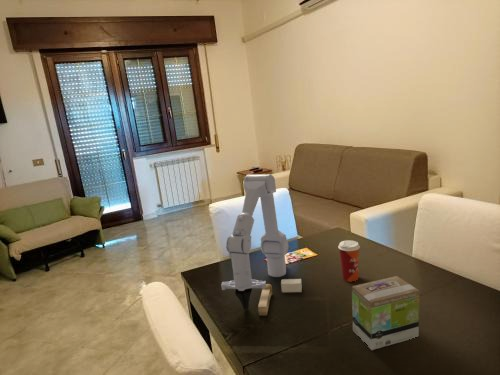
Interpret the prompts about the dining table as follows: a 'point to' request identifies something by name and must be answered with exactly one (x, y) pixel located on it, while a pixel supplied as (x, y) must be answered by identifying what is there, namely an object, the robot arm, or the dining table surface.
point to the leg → (265, 300)
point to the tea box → (385, 312)
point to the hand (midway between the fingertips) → (246, 308)
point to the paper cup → (349, 260)
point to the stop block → (291, 285)
